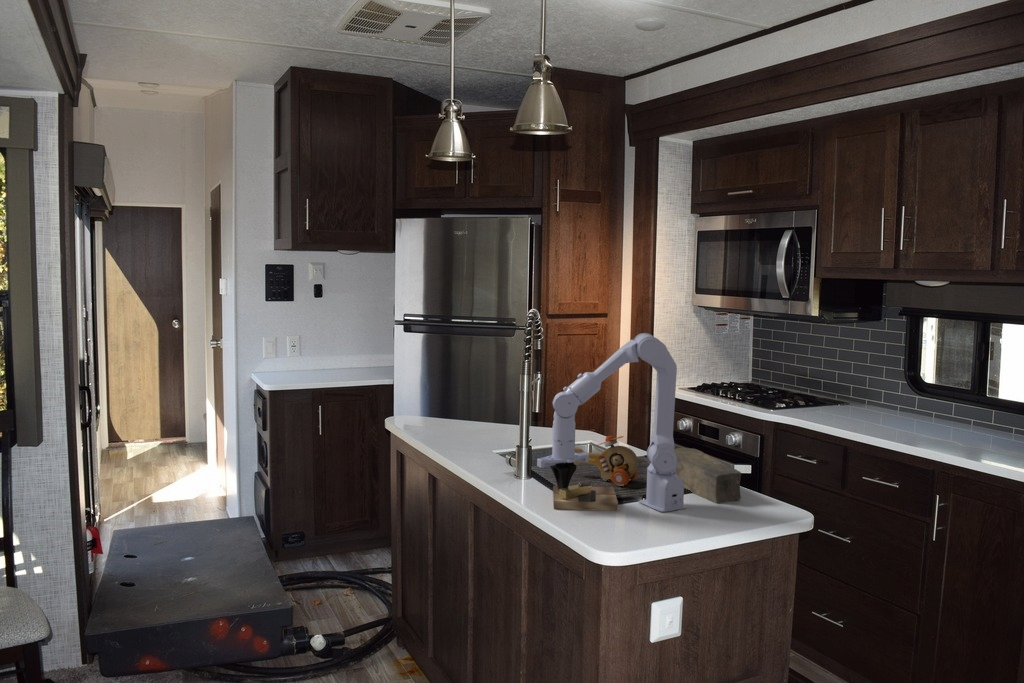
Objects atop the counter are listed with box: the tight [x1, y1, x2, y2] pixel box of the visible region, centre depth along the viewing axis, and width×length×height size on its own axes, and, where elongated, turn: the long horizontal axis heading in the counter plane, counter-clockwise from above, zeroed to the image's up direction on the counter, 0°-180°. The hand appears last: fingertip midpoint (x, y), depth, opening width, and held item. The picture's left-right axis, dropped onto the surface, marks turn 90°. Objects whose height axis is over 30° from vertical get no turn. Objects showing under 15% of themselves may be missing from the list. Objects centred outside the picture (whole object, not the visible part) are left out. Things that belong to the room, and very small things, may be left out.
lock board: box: [552, 485, 619, 512], centre depth 214 cm, size 16×14×5 cm
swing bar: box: [559, 480, 592, 499], centre depth 211 cm, size 10×3×3 cm, turn 131°
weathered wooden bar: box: [674, 447, 742, 504], centre depth 226 cm, size 10×26×10 cm, turn 24°
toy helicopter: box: [574, 435, 638, 486], centre depth 233 cm, size 8×21×14 cm, turn 60°
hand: (562, 491), depth 212 cm, fingers closed, pressing on swing bar
